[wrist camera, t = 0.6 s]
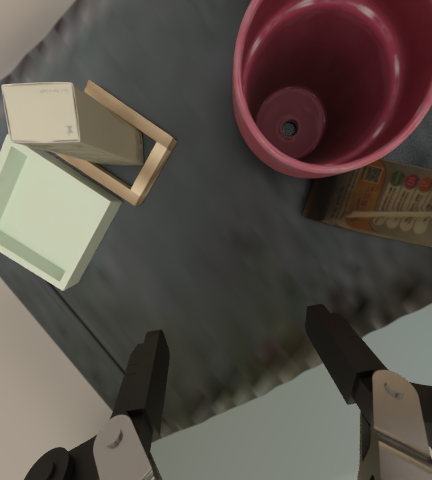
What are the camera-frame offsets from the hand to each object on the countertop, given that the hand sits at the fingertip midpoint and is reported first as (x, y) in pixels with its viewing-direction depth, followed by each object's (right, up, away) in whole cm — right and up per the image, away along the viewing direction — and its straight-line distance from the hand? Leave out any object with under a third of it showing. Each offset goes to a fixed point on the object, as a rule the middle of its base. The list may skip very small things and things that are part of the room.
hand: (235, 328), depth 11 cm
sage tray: (-25, +8, +19) cm, 32 cm away
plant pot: (+8, +19, +15) cm, 26 cm away
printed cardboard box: (+21, +10, +16) cm, 28 cm away
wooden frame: (-14, +17, +17) cm, 28 cm away
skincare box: (-14, +17, +17) cm, 28 cm away
